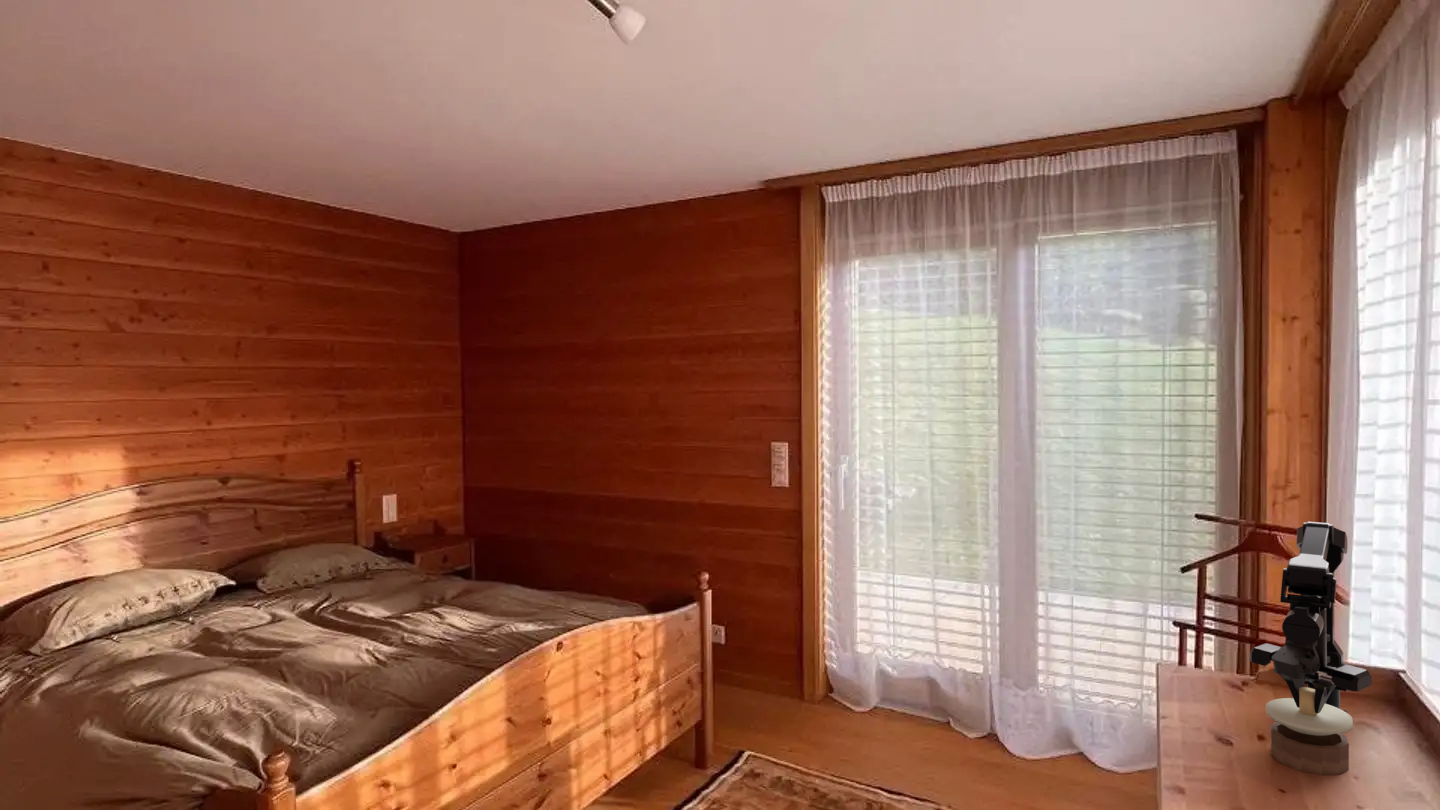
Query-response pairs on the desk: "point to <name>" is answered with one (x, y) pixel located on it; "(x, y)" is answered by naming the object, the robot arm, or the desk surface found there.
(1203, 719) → the desk surface
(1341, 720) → the lid
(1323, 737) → the box
